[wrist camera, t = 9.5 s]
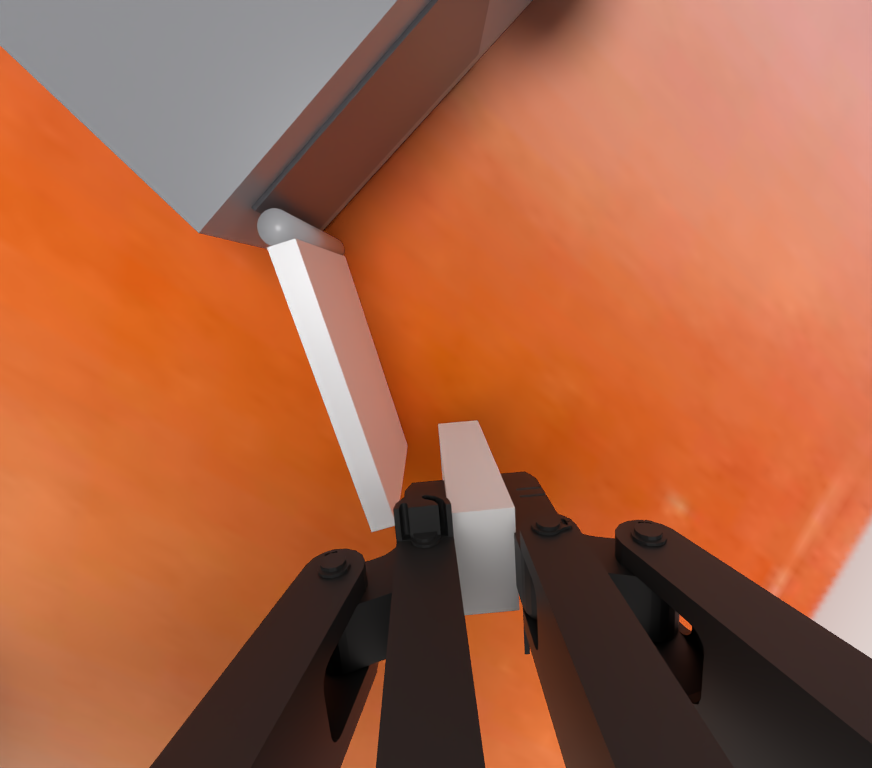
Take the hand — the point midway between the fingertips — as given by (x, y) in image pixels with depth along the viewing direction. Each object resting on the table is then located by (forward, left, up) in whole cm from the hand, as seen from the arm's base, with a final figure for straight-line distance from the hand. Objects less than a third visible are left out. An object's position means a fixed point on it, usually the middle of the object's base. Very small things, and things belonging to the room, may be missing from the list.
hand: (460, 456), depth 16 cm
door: (-2, +6, -8) cm, 10 cm away
